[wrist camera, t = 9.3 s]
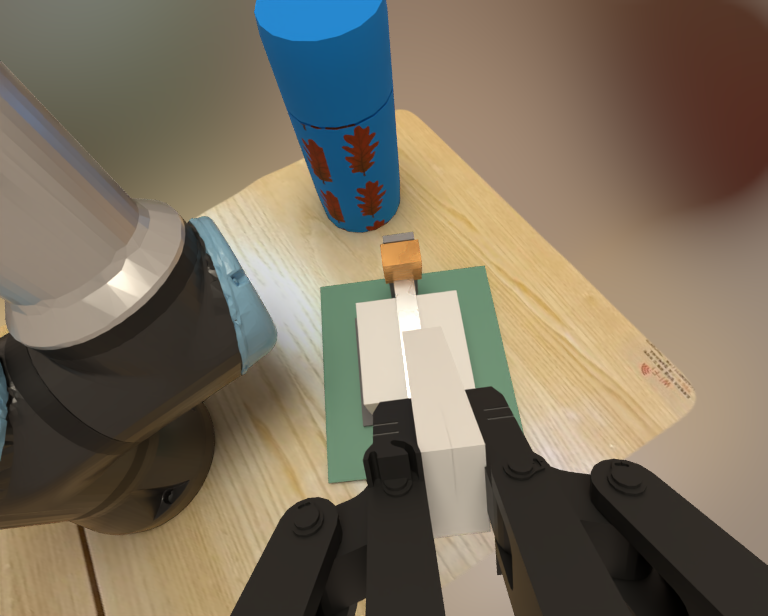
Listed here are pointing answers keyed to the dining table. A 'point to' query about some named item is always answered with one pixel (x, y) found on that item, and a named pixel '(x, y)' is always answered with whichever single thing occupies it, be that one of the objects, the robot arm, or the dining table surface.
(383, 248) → the grey and orange bar
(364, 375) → the lever on green base
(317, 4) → the thermos
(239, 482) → the dining table surface
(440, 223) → the dining table surface
